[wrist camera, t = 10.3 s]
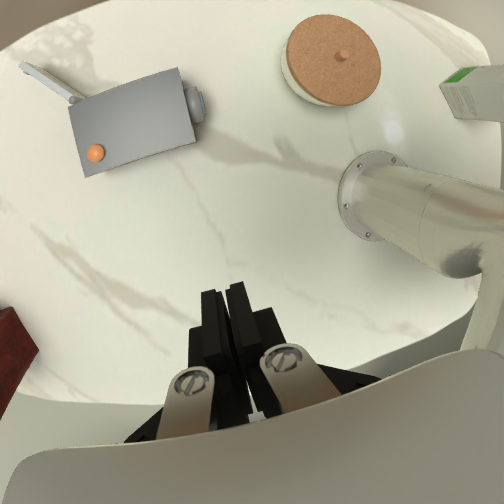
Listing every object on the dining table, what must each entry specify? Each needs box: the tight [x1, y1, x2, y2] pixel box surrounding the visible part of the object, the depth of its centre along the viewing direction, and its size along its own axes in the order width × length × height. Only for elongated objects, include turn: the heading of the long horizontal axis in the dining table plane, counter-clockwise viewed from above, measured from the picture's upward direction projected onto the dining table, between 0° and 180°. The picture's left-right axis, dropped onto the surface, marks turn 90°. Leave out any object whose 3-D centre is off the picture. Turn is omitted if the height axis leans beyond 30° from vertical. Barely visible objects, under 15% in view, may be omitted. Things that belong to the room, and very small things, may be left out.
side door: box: [18, 61, 87, 104], centre depth 26 cm, size 10×1×6 cm, turn 51°
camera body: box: [68, 67, 206, 178], centre depth 29 cm, size 14×8×7 cm, turn 103°
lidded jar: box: [281, 15, 381, 106], centre depth 29 cm, size 11×11×9 cm
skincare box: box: [439, 65, 504, 123], centre depth 29 cm, size 8×7×16 cm
